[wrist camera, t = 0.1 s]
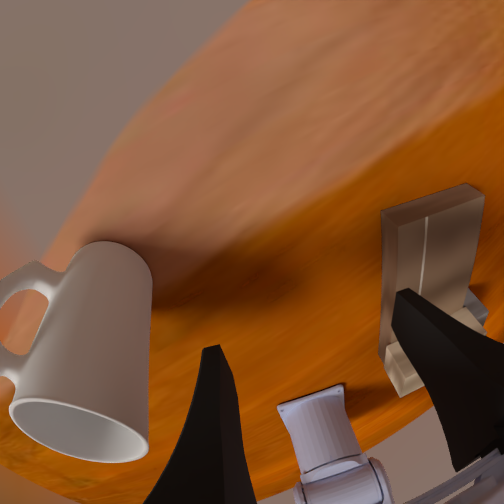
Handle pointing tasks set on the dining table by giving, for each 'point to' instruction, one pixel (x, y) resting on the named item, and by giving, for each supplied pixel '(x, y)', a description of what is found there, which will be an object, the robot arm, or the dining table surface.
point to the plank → (429, 251)
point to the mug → (86, 355)
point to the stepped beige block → (402, 368)
